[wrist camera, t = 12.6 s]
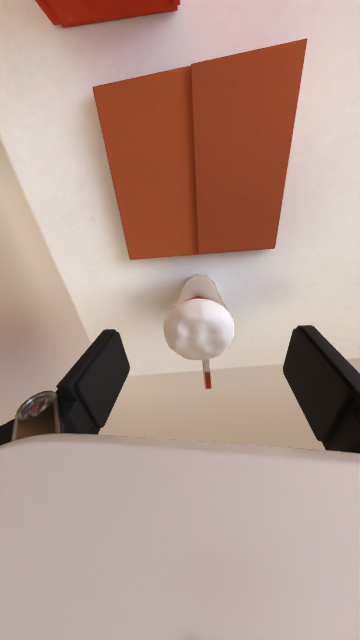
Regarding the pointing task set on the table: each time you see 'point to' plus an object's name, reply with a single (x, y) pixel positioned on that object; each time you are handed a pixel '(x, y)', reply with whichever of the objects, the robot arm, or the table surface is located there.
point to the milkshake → (199, 323)
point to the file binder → (101, 10)
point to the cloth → (203, 151)
